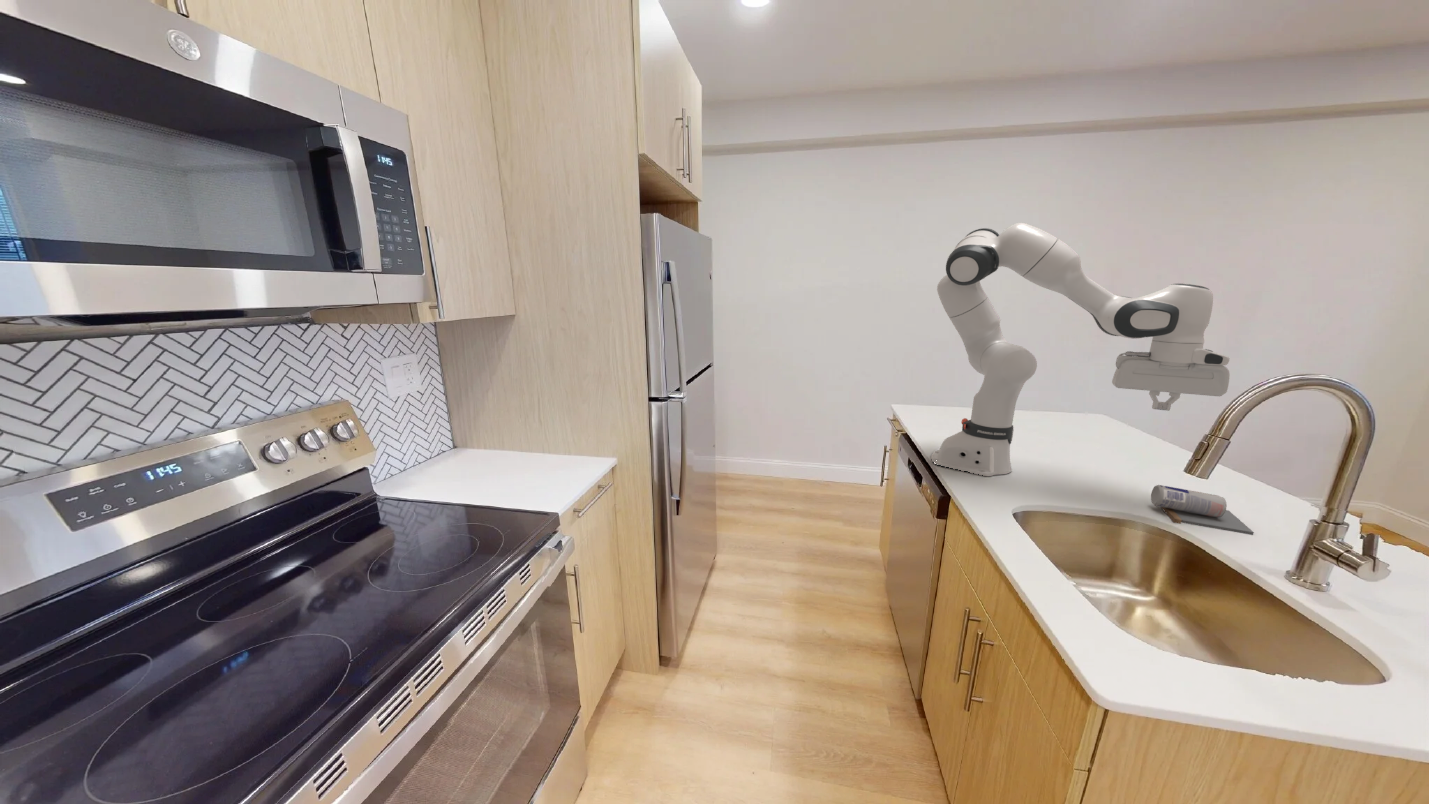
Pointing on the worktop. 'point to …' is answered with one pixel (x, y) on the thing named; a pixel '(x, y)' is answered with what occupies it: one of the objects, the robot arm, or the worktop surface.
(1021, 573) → the worktop surface
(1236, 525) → the mat
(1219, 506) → the energy drink
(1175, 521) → the brown thin bar
